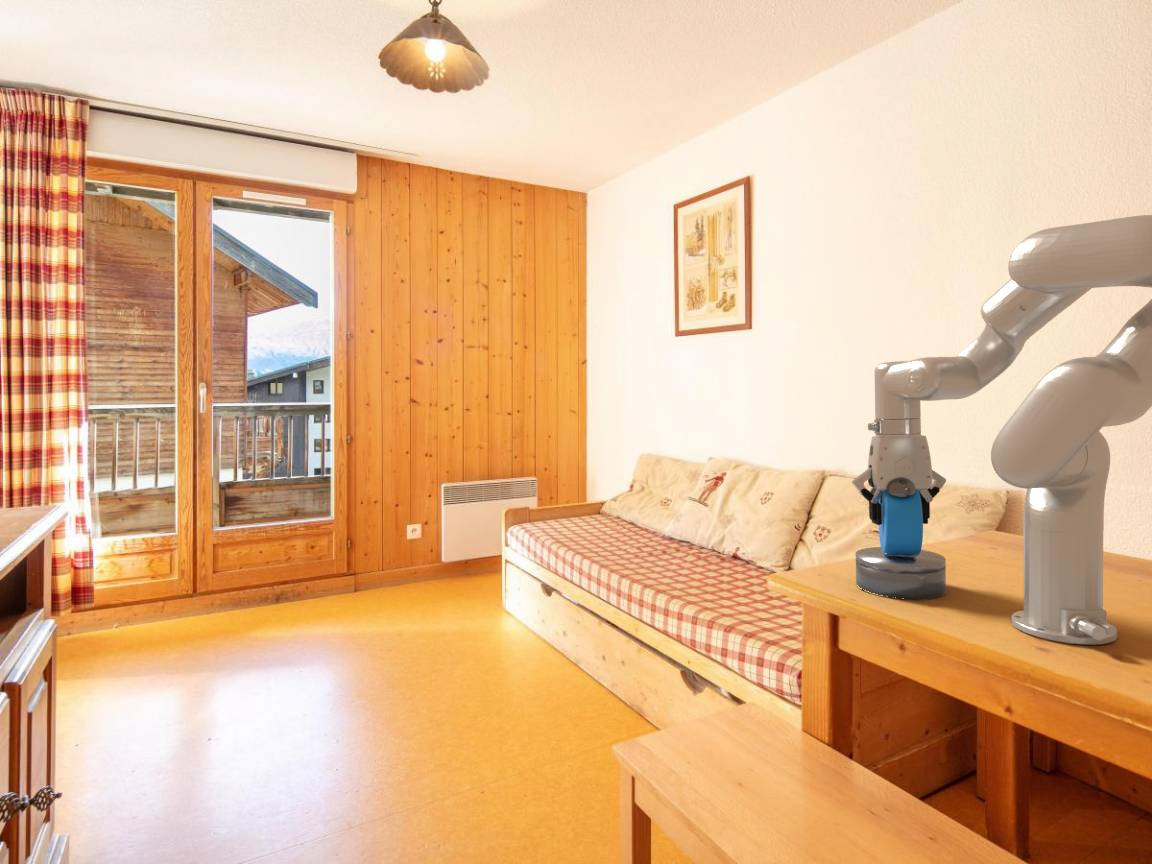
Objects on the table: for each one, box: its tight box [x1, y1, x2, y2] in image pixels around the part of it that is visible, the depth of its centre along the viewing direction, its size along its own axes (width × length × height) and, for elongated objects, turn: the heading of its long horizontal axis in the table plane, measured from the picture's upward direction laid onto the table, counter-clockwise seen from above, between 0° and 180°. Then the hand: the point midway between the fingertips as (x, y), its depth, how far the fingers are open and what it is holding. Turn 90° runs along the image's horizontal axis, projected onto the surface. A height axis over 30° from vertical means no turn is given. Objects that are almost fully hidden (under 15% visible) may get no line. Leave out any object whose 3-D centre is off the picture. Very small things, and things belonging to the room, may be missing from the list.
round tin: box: [855, 546, 947, 601], centre depth 120 cm, size 15×15×6 cm
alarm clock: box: [877, 477, 924, 560], centre depth 120 cm, size 13×6×15 cm, turn 161°
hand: (899, 522), depth 120 cm, fingers open, 7 cm apart
